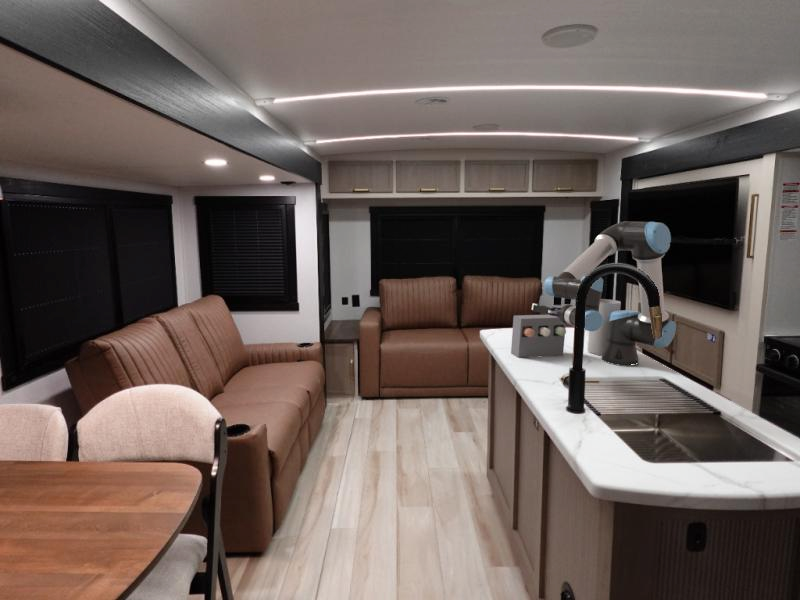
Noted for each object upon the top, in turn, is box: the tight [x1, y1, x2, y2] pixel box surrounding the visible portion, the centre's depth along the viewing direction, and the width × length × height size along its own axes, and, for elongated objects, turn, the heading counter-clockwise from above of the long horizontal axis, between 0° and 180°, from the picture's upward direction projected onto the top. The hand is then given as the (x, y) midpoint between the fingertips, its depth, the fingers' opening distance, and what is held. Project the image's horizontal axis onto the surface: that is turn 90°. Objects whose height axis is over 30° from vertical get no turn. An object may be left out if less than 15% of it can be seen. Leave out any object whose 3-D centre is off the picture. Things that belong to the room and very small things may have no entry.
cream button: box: [538, 326, 550, 337], centre depth 223 cm, size 4×4×4 cm
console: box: [510, 314, 567, 359], centre depth 227 cm, size 23×7×18 cm, turn 105°
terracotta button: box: [522, 327, 535, 337], centre depth 220 cm, size 4×4×4 cm
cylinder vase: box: [587, 298, 622, 356], centre depth 233 cm, size 12×12×25 cm
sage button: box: [554, 326, 567, 336], centre depth 225 cm, size 4×4×4 cm
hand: (547, 308), depth 208 cm, fingers open, 13 cm apart
